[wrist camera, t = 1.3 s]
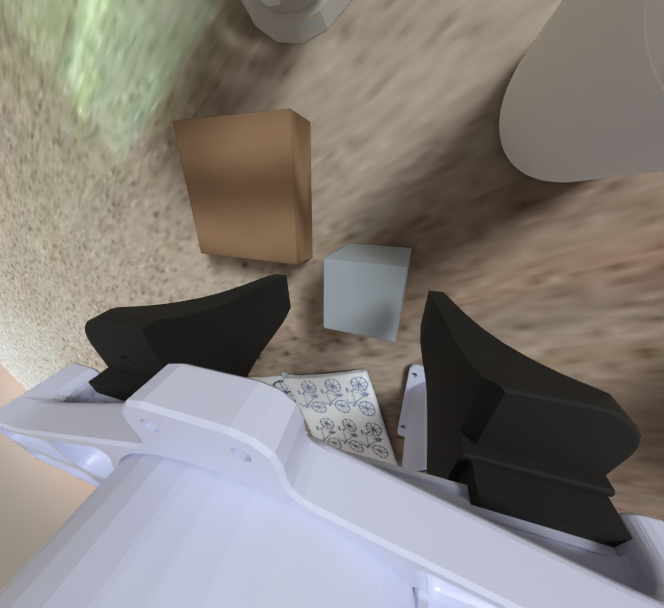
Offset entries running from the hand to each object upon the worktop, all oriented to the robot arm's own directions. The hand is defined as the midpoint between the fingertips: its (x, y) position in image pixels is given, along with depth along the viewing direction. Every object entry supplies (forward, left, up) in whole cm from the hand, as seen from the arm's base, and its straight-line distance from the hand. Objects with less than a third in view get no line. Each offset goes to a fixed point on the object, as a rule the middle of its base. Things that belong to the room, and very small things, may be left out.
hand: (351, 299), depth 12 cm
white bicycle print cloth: (-23, +6, -10) cm, 26 cm away
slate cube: (-1, 0, -9) cm, 9 cm away
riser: (+5, +11, -9) cm, 15 cm away
